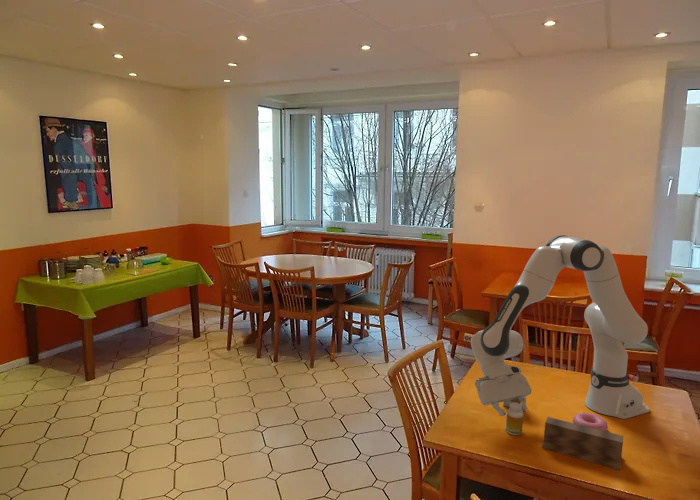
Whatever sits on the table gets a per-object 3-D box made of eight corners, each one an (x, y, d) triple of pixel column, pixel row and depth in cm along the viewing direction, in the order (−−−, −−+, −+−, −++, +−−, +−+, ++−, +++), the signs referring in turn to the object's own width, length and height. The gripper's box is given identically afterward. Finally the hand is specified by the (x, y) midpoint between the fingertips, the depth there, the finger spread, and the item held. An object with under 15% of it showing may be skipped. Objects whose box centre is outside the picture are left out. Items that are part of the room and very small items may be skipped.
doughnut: (588, 439, 162) (589, 428, 162) (565, 423, 173) (566, 412, 172) (614, 435, 165) (615, 423, 165) (590, 419, 176) (591, 408, 175)
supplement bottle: (523, 436, 163) (525, 409, 162) (506, 434, 164) (508, 407, 163) (520, 428, 169) (522, 402, 167) (504, 426, 170) (506, 400, 168)
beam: (542, 447, 157) (544, 424, 155) (546, 436, 164) (548, 414, 162) (619, 470, 145) (622, 445, 144) (621, 457, 152) (623, 433, 151)
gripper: (477, 375, 167) (494, 415, 159) (523, 366, 175) (542, 404, 167) (468, 382, 171) (485, 421, 164) (514, 373, 179) (531, 410, 172)
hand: (514, 412), depth 166 cm, fingers open, 8 cm apart
